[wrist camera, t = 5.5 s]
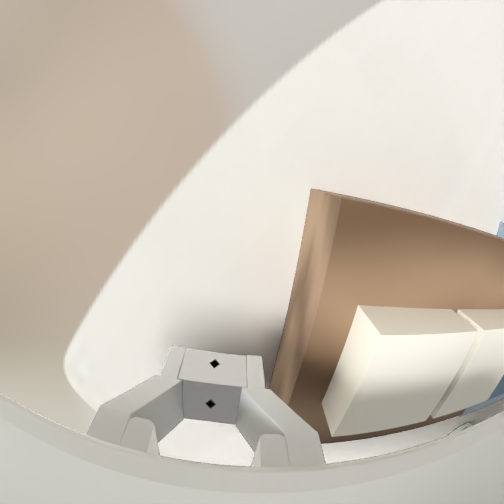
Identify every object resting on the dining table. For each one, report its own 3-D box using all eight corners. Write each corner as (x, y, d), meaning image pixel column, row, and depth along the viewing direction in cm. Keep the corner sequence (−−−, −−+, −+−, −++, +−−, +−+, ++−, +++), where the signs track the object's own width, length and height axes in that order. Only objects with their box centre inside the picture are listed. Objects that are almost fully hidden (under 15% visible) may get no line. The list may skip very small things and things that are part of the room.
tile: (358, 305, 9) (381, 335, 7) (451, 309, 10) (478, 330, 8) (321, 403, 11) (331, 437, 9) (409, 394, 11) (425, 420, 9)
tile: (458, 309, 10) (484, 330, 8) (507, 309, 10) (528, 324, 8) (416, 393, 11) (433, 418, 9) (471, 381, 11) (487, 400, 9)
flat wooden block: (310, 188, 12) (341, 198, 8) (497, 236, 13) (537, 253, 9) (267, 393, 15) (273, 445, 11) (438, 382, 16) (462, 413, 12)
